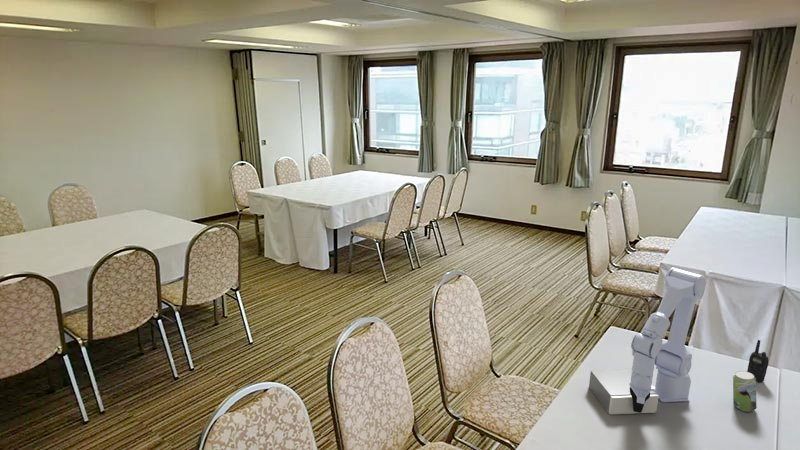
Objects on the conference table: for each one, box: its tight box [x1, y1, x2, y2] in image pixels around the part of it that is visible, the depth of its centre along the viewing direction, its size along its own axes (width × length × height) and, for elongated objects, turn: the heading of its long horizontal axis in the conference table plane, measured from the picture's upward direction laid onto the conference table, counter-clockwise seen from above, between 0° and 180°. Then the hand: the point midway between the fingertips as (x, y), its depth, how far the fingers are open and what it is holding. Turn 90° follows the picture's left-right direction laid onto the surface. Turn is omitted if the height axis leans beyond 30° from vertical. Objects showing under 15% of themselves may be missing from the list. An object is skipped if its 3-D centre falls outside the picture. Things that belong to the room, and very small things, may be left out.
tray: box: [608, 394, 659, 415], centre depth 156 cm, size 15×14×6 cm
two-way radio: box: [746, 339, 769, 384], centre depth 167 cm, size 6×4×15 cm
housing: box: [588, 368, 657, 414], centre depth 157 cm, size 15×14×6 cm
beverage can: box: [732, 370, 758, 412], centre depth 152 cm, size 6×7×12 cm
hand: (637, 410), depth 149 cm, fingers closed, pressing on tray
